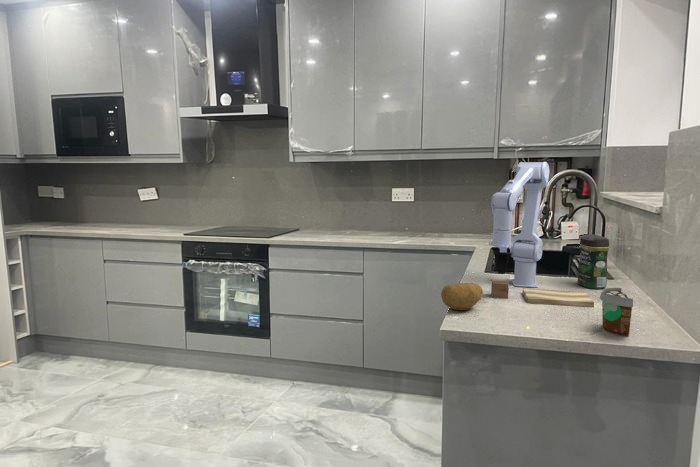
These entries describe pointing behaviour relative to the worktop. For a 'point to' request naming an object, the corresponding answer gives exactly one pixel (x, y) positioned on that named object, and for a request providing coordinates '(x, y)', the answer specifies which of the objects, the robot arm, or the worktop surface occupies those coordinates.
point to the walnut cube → (500, 289)
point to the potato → (461, 295)
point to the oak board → (557, 297)
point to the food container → (616, 311)
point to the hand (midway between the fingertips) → (500, 270)
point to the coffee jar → (593, 261)
